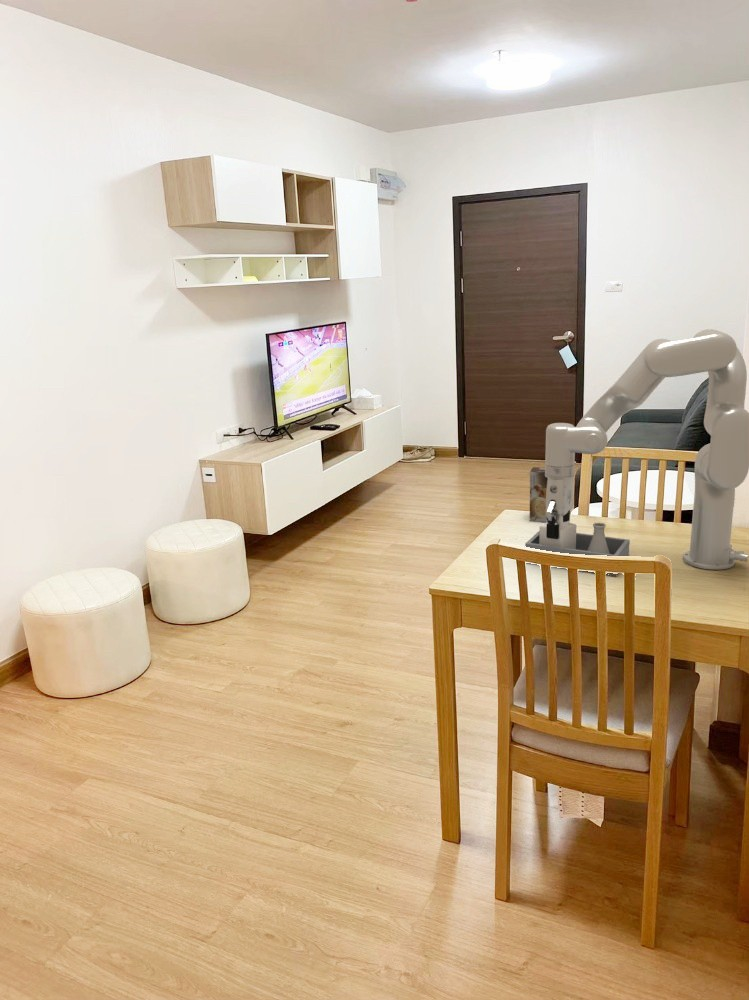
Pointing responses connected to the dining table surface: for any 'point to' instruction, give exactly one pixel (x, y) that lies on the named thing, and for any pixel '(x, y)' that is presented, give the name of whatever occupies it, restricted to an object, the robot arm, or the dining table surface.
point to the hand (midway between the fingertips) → (557, 533)
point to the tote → (585, 547)
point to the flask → (598, 539)
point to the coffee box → (538, 494)
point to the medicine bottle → (560, 533)
